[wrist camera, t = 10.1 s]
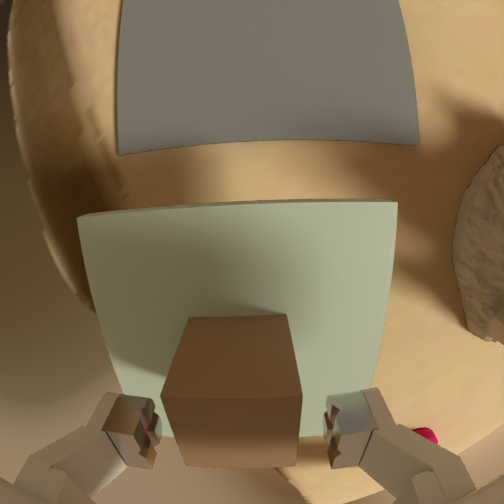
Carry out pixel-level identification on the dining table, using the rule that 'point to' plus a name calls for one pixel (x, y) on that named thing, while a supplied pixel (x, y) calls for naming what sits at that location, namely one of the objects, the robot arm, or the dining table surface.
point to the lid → (242, 315)
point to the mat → (263, 73)
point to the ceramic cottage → (482, 250)
